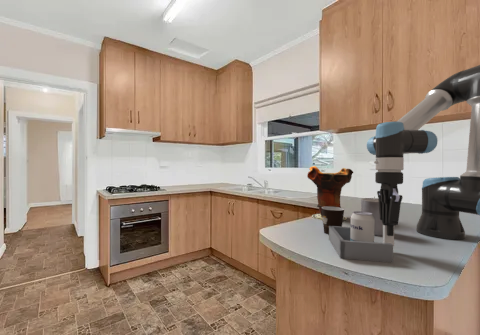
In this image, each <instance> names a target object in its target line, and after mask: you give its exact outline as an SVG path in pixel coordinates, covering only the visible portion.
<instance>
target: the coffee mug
mask: <svg viewBox="0 0 480 335" xmlns="http://www.w3.org/2000/svg"><path fill="white" fill-rule="evenodd" d="M344 214H345V208H343V207H341V208H339V207H322V210H321V215H322V218H323V220H322V225H323V232H324V234H325V235H329V226H340V227H343V221H344V220H343V216H345V215H344Z"/></svg>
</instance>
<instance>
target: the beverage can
mask: <svg viewBox="0 0 480 335" xmlns="http://www.w3.org/2000/svg"><path fill="white" fill-rule="evenodd" d="M374 224H375V219H374V217H373V216H372V213H369V212H362V211H361V210H360V211H359V210H354V211H353V212H352V214H351V216H350V227H351V229H350V241H362V242H375V235H374Z"/></svg>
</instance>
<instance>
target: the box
mask: <svg viewBox="0 0 480 335" xmlns="http://www.w3.org/2000/svg"><path fill="white" fill-rule="evenodd" d="M350 229H351V226H342V227H340V226H329V234H328V241H329V242H330V244H331V245H332V247H333V248H334V250H335V252H336V253H337V255H338V257H339V258H340V259H343V260H344V259H345V260H347V259H348V260H358V261H359V260H360V261H369V262H370V261H371V262H384V263H394V246H393V244H391V243H383V242H376V241H374V242H362V241H350Z"/></svg>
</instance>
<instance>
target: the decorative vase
mask: <svg viewBox="0 0 480 335" xmlns="http://www.w3.org/2000/svg"><path fill="white" fill-rule="evenodd" d="M308 169H309V170H310V171H308V173H307V178H308V180H311V182H312V183H314V185H315V186H316V187H317V188H316V193H317V194H316V196H317V197H316V198H317V206H316V208H318V211H319V213H316V214H312V215H311V217H313V219H317V220H319V221H323V218H322V215H321V210H322V207H339V208H342V207H341V194H342V189H343V187H345V185H347V184H349V183H350V182H351V180H352V177H353V176H352V175H353V174H354V171H353V170H352V169H351V168H345V167H342V168H341V169H340V170H339V171H337V172H322V170H321V171H320V168H318V167H317V166H316V165H315V166H314V165H312V166H310V167H309V168H308ZM318 215H320V216H318ZM315 216H317V217H315ZM345 220H347V217H346V216H345V215H343V221H345Z"/></svg>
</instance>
